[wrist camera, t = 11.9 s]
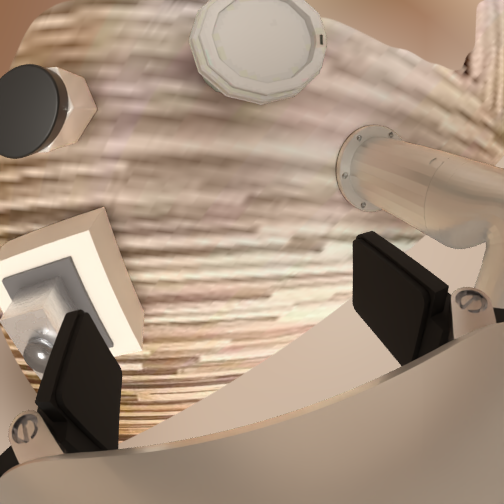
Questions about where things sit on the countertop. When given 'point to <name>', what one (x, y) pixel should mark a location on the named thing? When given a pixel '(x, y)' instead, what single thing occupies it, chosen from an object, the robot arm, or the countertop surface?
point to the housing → (37, 320)
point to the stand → (79, 275)
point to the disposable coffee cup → (258, 47)
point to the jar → (42, 110)
